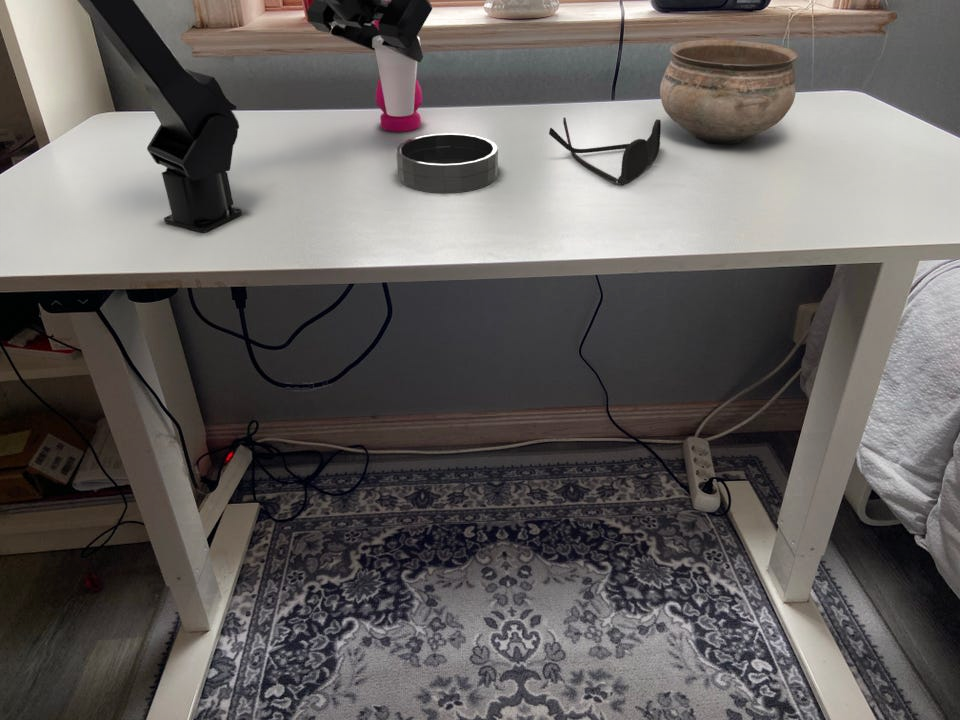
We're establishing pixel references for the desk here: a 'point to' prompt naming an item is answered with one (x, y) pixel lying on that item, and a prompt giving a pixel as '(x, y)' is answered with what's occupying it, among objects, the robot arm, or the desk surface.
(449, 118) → the desk surface
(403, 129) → the pepper mill
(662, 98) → the cooking pot
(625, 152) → the sunglasses
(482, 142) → the pan
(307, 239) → the desk surface
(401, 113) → the smoothie
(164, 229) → the desk surface
